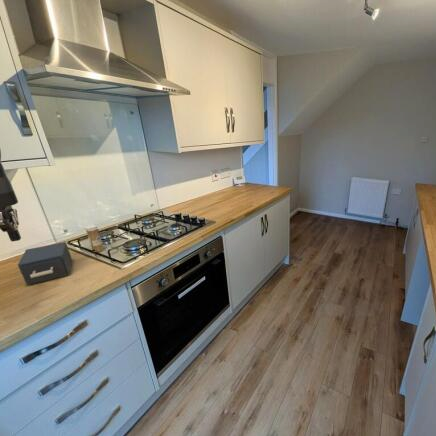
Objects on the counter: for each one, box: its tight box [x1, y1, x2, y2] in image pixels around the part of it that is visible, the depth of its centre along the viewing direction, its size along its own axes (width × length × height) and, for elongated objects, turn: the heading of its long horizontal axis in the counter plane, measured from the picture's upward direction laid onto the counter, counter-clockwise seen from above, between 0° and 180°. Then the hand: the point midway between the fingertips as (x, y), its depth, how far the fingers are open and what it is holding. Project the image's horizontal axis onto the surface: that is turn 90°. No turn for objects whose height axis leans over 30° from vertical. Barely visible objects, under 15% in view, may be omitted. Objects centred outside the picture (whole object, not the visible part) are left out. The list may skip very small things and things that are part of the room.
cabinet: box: [17, 241, 73, 286], centre depth 100 cm, size 15×13×10 cm
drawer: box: [19, 257, 68, 285], centre depth 98 cm, size 18×11×8 cm, turn 37°
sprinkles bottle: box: [84, 224, 104, 253], centre depth 118 cm, size 5×5×13 cm
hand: (16, 240), depth 81 cm, fingers closed
